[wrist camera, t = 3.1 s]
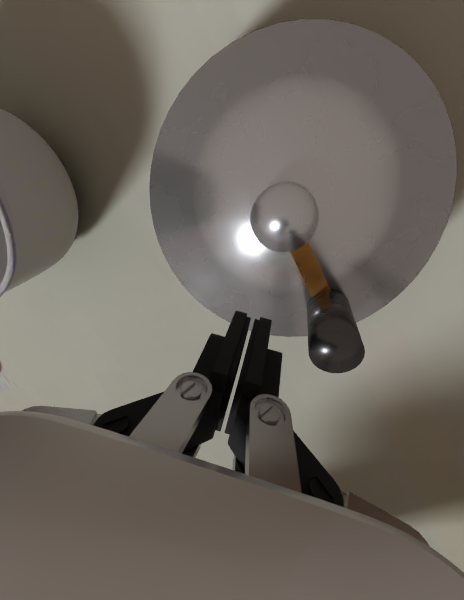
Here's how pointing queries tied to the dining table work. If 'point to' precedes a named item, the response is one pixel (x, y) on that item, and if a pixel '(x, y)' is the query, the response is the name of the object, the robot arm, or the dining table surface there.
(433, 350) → the dining table surface
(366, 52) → the handwheel
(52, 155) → the teacup
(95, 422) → the robot arm
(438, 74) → the dining table surface
